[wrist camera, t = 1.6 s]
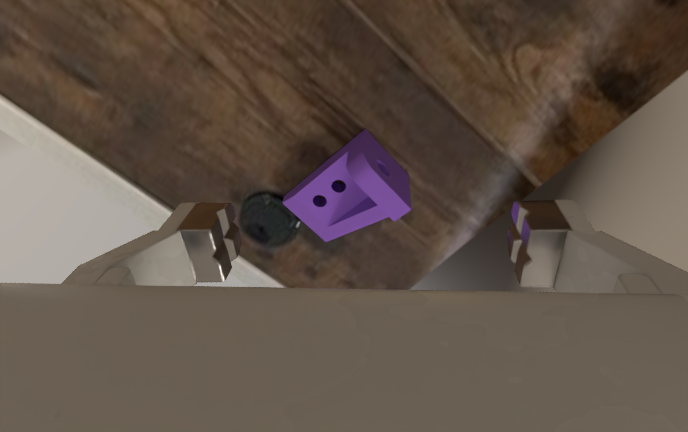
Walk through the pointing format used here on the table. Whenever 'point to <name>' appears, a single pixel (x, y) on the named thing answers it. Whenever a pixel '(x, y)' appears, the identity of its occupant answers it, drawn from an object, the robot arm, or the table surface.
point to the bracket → (351, 190)
